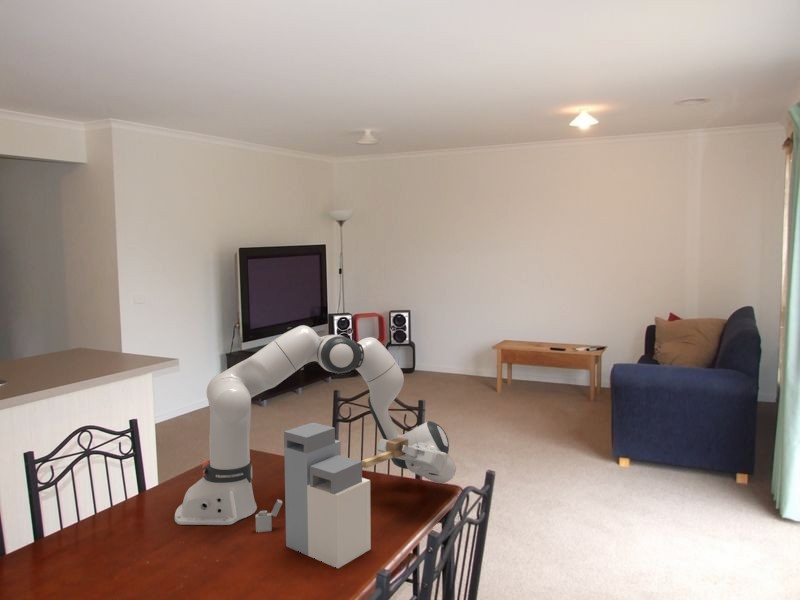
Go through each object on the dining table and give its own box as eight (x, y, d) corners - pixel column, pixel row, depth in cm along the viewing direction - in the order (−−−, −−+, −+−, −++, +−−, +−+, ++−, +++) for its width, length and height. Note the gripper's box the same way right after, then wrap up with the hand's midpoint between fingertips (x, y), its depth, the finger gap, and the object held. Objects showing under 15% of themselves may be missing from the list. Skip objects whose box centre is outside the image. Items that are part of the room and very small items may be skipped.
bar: (399, 451, 179) (399, 437, 179) (407, 453, 178) (408, 439, 177) (359, 466, 166) (359, 450, 166) (368, 468, 164) (368, 453, 164)
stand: (319, 529, 172) (318, 420, 169) (370, 549, 161) (369, 433, 158) (286, 546, 163) (283, 431, 160) (337, 568, 152) (336, 445, 149)
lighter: (256, 532, 170) (255, 503, 170) (255, 529, 172) (255, 501, 171) (283, 529, 172) (282, 500, 171) (282, 526, 174) (281, 498, 173)
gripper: (396, 441, 193) (370, 428, 183) (453, 455, 180) (428, 442, 170) (389, 461, 191) (363, 449, 181) (446, 477, 178) (421, 465, 168)
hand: (395, 446), depth 175 cm, fingers closed on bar, 3 cm apart
